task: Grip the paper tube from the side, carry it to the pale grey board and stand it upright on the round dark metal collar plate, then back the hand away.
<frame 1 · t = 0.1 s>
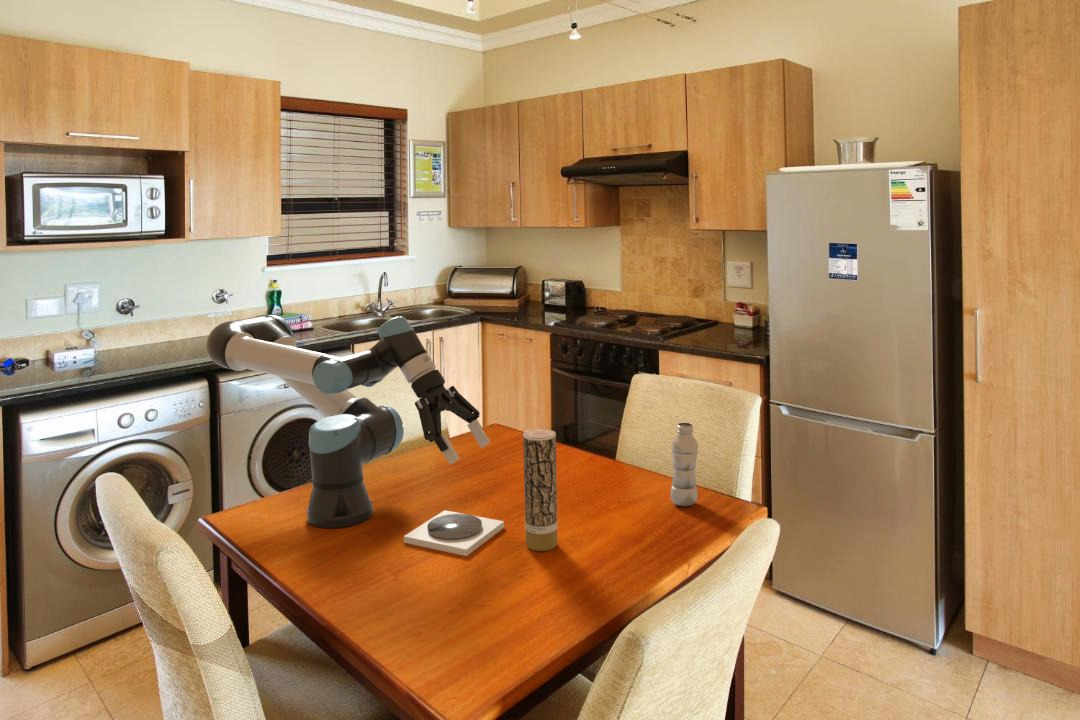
hand: (471, 453, 177), 15 cm above the table, tool tilted 35°, fingers open, 13 cm apart
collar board: (455, 534, 170), on the table
paper tube: (541, 546, 163), on the table
plastic bottle: (683, 505, 185), on the table
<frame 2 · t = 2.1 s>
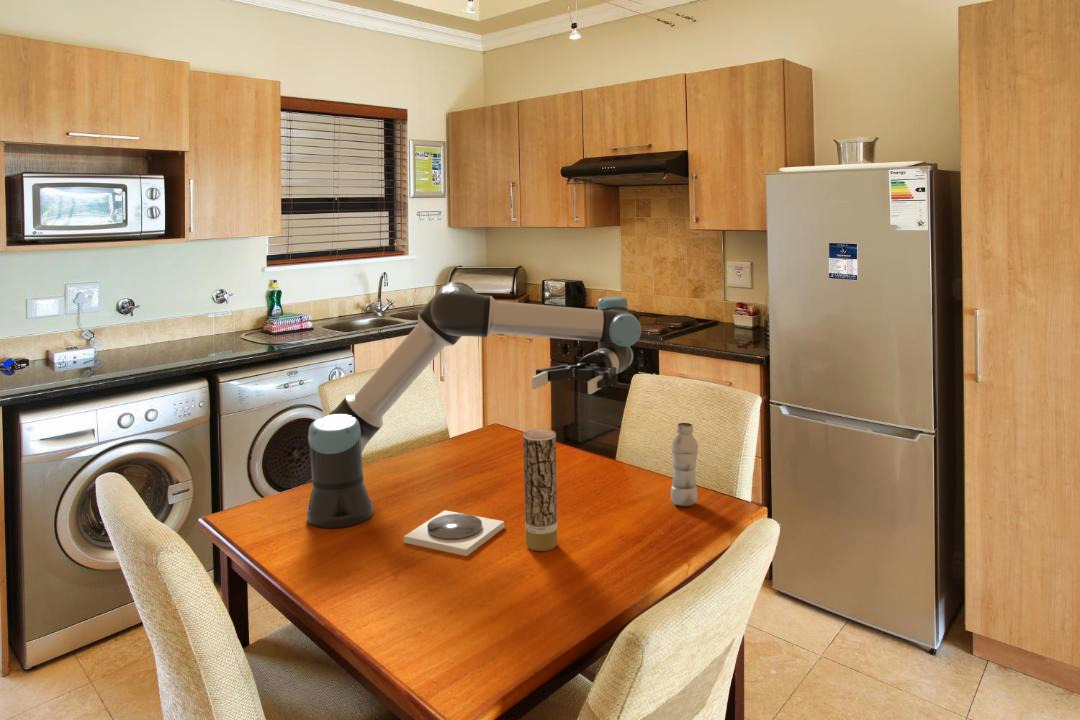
hand: (560, 385, 167), 33 cm above the table, tool horizontal, fingers open, 13 cm apart
nothing on the table moved.
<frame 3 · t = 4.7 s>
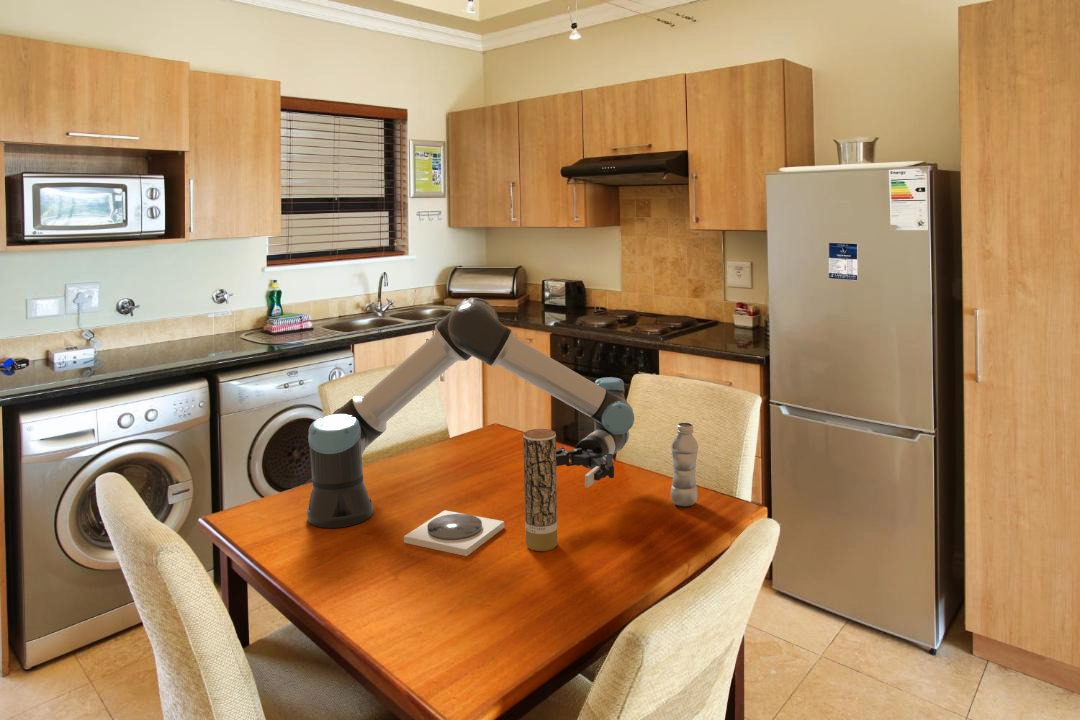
hand: (557, 477, 168), 13 cm above the table, tool horizontal, fingers open, 13 cm apart
nothing on the table moved.
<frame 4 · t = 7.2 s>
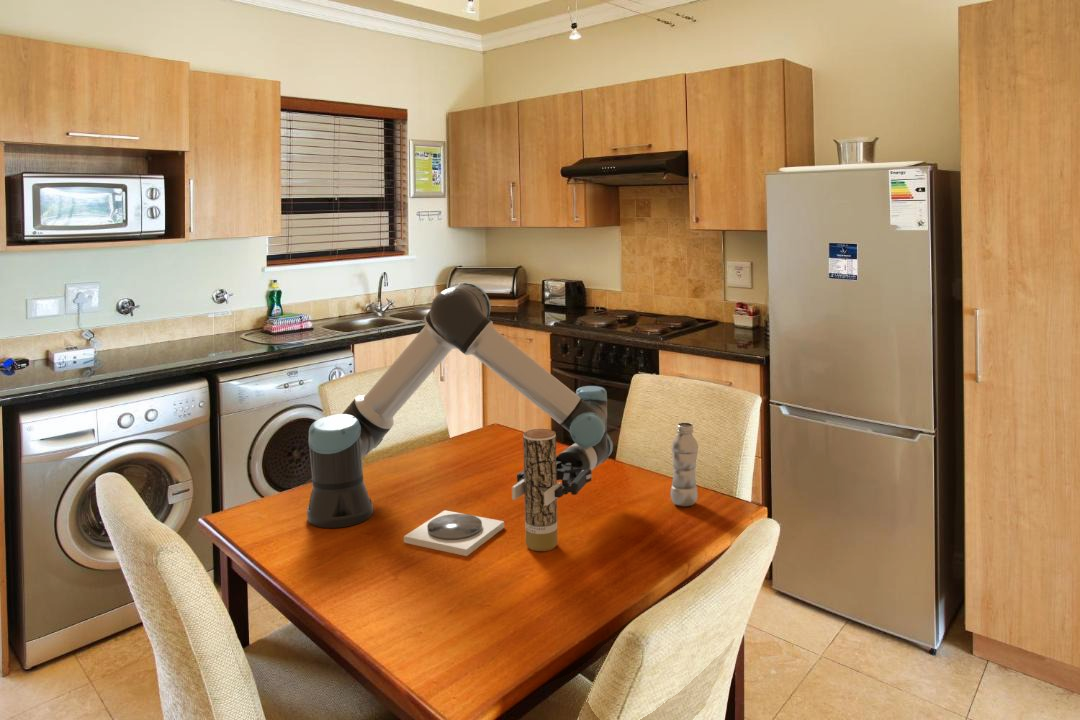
hand: (529, 496, 156), 13 cm above the table, tool horizontal, fingers closed on paper tube, 7 cm apart
paper tube: (541, 546, 163), on the table, touching gripper
everything else where it was.
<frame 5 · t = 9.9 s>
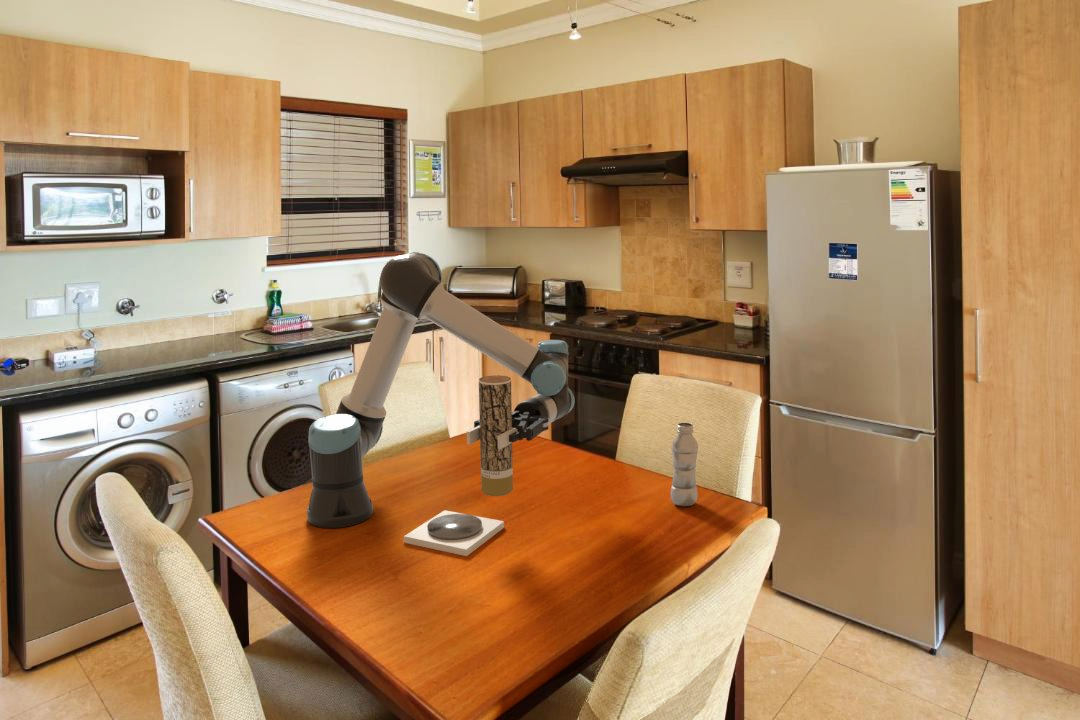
hand: (483, 440, 158), 24 cm above the table, tool horizontal, fingers closed on paper tube, 7 cm apart
paper tube: (497, 492, 165), point 11 cm above the table, touching gripper
everything else where it was.
when the fingers open (17 cm above the table, at t = 12.7 s): paper tube drops 1 cm, resting on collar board.
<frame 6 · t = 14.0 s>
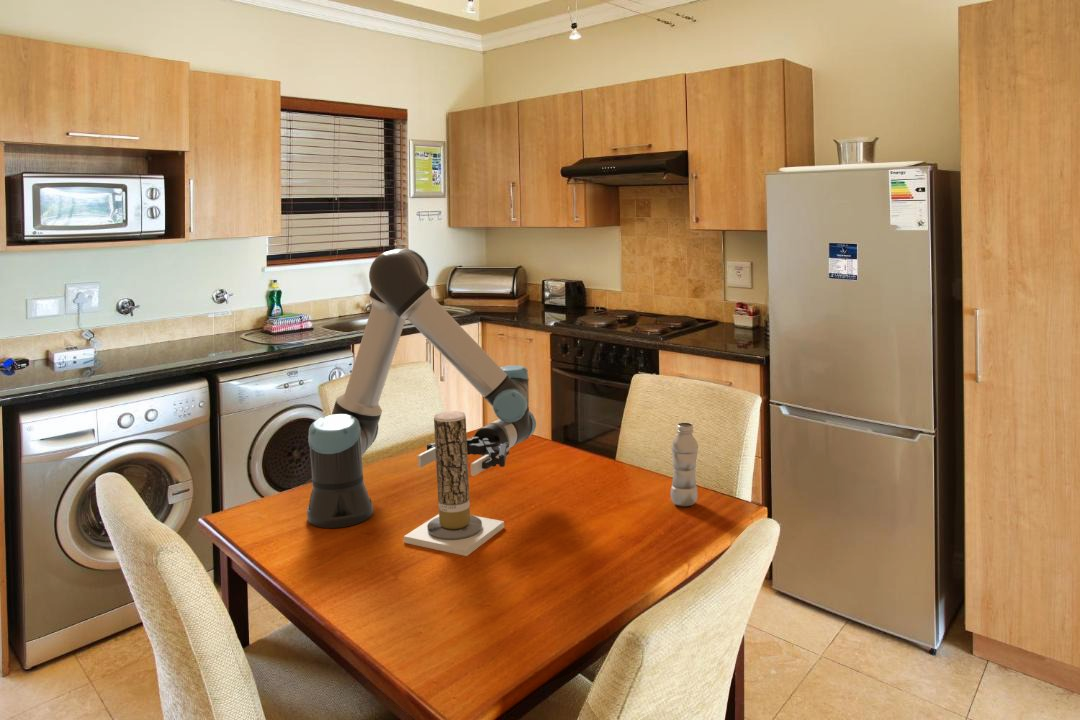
hand: (445, 465, 164), 17 cm above the table, tool horizontal, fingers open, 13 cm apart
paper tube: (455, 525, 169), point 2 cm above the table, touching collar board
everything else where it was.
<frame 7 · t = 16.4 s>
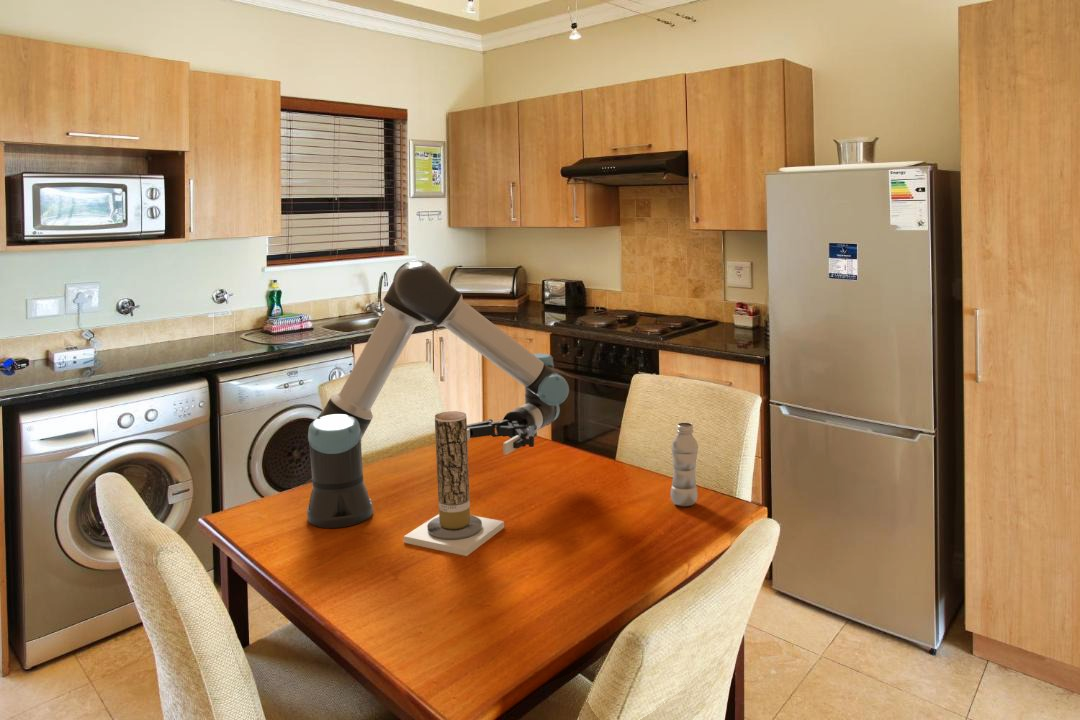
hand: (478, 445, 175), 18 cm above the table, tool horizontal, fingers open, 13 cm apart
nothing on the table moved.
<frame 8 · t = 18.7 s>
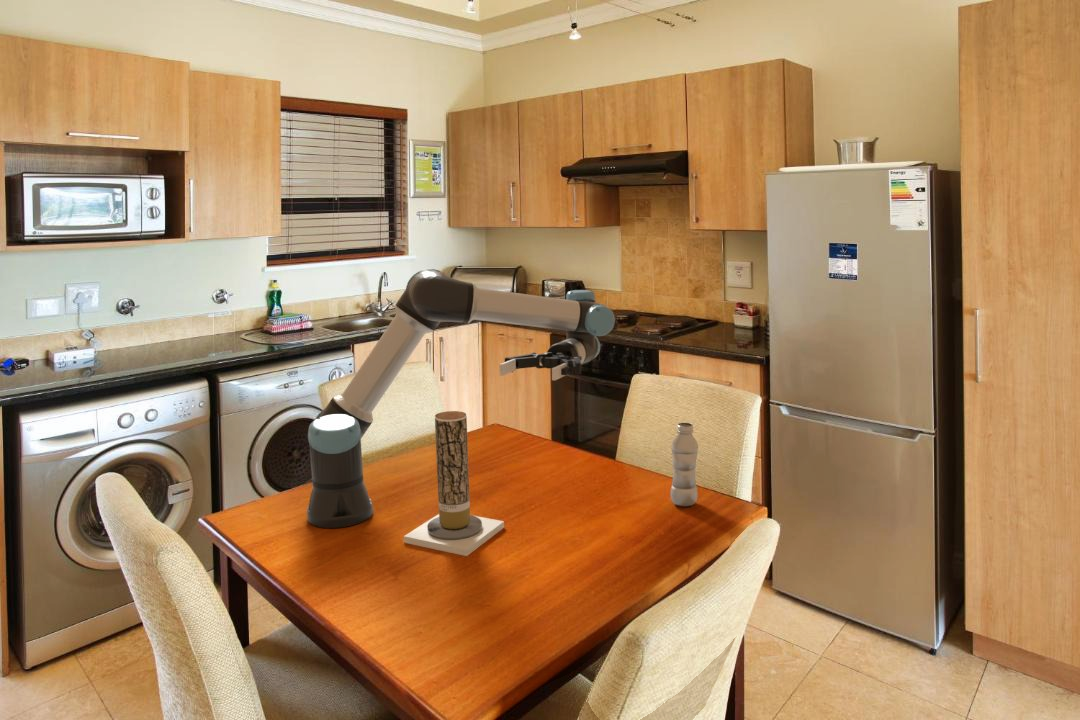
hand: (526, 372, 175), 34 cm above the table, tool horizontal, fingers open, 13 cm apart
nothing on the table moved.
at the end: paper tube inside the target area on the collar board (0.1 cm from its centre), point 2.3 cm above the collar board's base; paper tube tilted 0°; the gripper is holding nothing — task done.
